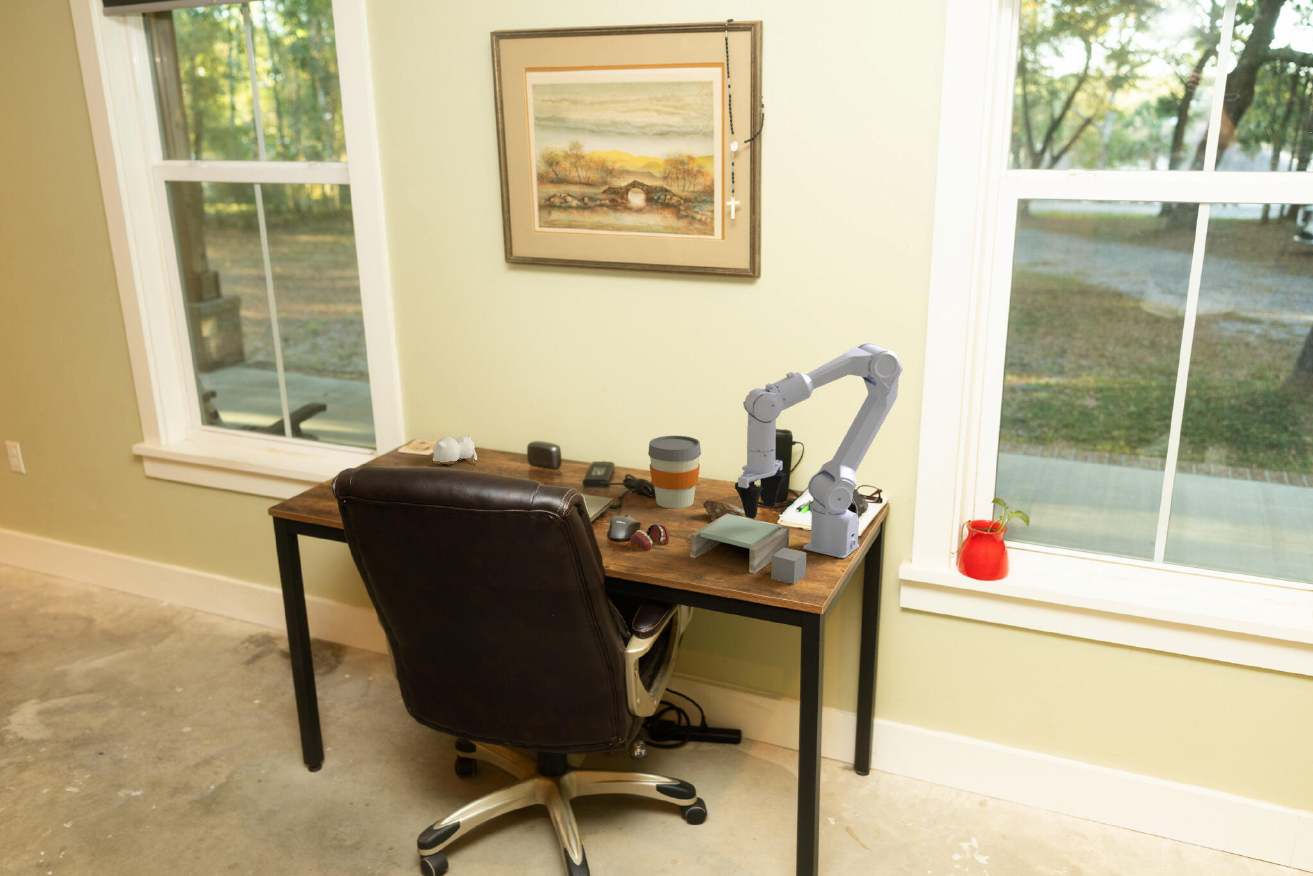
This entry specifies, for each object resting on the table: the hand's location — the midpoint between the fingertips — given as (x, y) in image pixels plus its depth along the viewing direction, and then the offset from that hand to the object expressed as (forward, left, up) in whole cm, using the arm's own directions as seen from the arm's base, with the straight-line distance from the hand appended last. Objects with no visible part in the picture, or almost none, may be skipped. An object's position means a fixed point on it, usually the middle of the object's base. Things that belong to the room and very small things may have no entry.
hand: (760, 511), depth 198 cm
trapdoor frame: (+4, +2, -10) cm, 10 cm away
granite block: (-10, +7, -10) cm, 16 cm away
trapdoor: (+4, +2, -5) cm, 7 cm away
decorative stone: (+14, -13, -10) cm, 22 cm away
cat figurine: (+100, -10, -10) cm, 101 cm away
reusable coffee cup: (+33, -17, -10) cm, 38 cm away
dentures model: (+23, +8, -10) cm, 26 cm away
